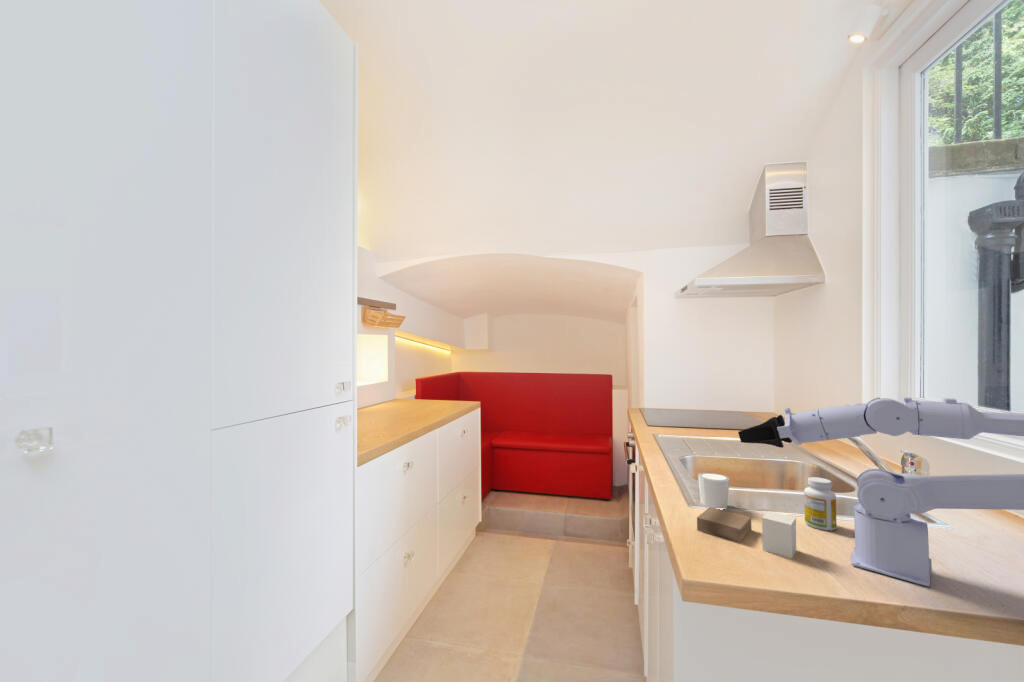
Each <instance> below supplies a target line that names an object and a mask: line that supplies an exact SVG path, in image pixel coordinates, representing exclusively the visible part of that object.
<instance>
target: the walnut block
mask: <svg viewBox="0 0 1024 682" xmlns="http://www.w3.org/2000/svg"><path fill="white" fill-rule="evenodd" d="M696 530H697V531H698V530H699V531H698V532H701V531H702V533H706V534H708V533H709V534H708V535H711V534H712V536H716V537H717V538H718V537H719V538H722V539H726V540H729V541H732V542H735V543H739V544H741V543H742V542H743V541H744V540H745V538H747V536H748V535H749V533H750V532H751V531H752V517H751V516H748V515H743V514H740V513H735V512H732V511H727V510H720V509H716V508H712V507H709V508H706V510H705V511H703V512H702V513H701V514H700V515H698V516H697V517H696Z"/></svg>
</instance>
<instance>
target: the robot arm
mask: <svg viewBox="0 0 1024 682" xmlns="http://www.w3.org/2000/svg"><path fill="white" fill-rule="evenodd" d="M784 412H785V419H784V417H783V415H782V414H780V415H778V416H777V417H776V416H772V417H770V418H768V419H767V420H766V421H764V422H762V423H760V424H758V425H754V426H751V427H749V428H744V429H742V430H740V431H738V432H737V434H738V437H739V440H740V442H741V443H744V444H761V445H770V446H773V447H776V448H780V449H782V448H784V447H785V446H784V444H783V442H785V443H788V444H791V443H794V444H795V445H796V446H797V445H802V444H806V443H807V444H809V443H815V442H823V441H832V440H841V439H849V438H858V437H861V436H865V435H873V434H877V433H881V434H885V435H889V436H892V437H898V436H901V435H904V434H906V433H908V432H909V433H911V435H913V436H926V437H935V438H936V437H938V438H946V439H947V438H948V439H958V440H970V439H972V438H974V437H975V436H978V435H979V434H982V433H984V434H985V433H986V434H994V435H995V434H996V435H1003V436H1004V435H1005V436H1007V435H1008V436H1016V437H1024V413H1021V412H1020V413H1019V412H1018V413H1017V412H1014V413H1013V412H989V411H988V412H987V411H979V410H977V409H976V408H974V407H973V406H971V404H969V403H966V402H958V401H957V399H956V398H951V397H950V398H948V397H947V398H945V397H944V398H943V401H932V400H930V401H929V400H912V397H906V396H905V397H902V402H900V401H898V400H896V399H894V398H893V399H891V398H887V397H885V398H881V397H876V398H873V399H871V400H869V401H868V402H867V403H866V402H865V403H861V402H860V403H854V404H852V405H850V404H845V405H843V404H842V405H838V406H837V405H836V406H831V407H830V406H829V407H825V408H818V409H813V410H807V411H805V410H804V411H799V412H793V413H792V411H791V408H790V407H786V408H785V407H784ZM856 486H857V492H856V493H857V500H858V502H857V503H855V504H854V505H853V509H854V510H853V511H854V547H853V551H852V554H851V555H852V556H851V558H850V565H852V566H854V567H858V568H861V569H863V570H869V571H873V572H876V573H879V574H881V575H886V576H889V577H893V578H897V579H900V580H904V581H906V582H907V581H908V582H910V583H914V584H918V585H922V586H925V587H930V585H931V582H930V571H932V570H933V569H932V568H933V566H932V563H933V562H932V558H930V551H929V550H930V547H929V544H930V543H929V542H930V541H929V529H928V527H929V526H928V523H927V522H924V521H921V520H917V519H914V518H912V517H911V514H918V515H919V514H925V513H928V512H930V511H932V510H938V509H941V510H943V509H945V510H950V509H951V510H1005V511H1006V510H1010V511H1011V510H1012V511H1013V510H1014V511H1015V510H1016V511H1017V510H1018V511H1022V510H1024V473H1008V474H1007V473H1004V474H1003V473H1002V474H1000V473H999V474H962V475H961V474H960V475H959V474H958V475H957V474H956V475H951V474H950V475H921V474H920V475H919V474H913V473H907V472H905V473H896V472H891V471H888V470H886V469H882V468H870V469H869V468H868V469H866V470H864V471H862V472H861V473H860V474H859V475H858V477H857V479H856Z"/></svg>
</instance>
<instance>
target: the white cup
mask: <svg viewBox="0 0 1024 682" xmlns="http://www.w3.org/2000/svg"><path fill="white" fill-rule="evenodd" d="M697 479H698V486H699V487H698V488H699V490H698V491H699V497H700V498H699V499H700V504H701V503H702V504H703V505H705V506H708V507H712V508H728V500H729V492H730V491H729V489H730V477H729V476H727V475H724V474H720V473H715V472H714V473H713V472H700V473H698V475H697Z"/></svg>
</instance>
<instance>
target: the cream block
mask: <svg viewBox="0 0 1024 682" xmlns="http://www.w3.org/2000/svg"><path fill="white" fill-rule="evenodd" d="M796 523H797V518H796V517H794V516H790V515H787V514H782V513H777V512H773V511H769V510H767V511H766V512H765V514H764V515H763V516H762V518H761V524H762V525H761V529H762V537H761V539H762V543H761V544H762V551H764V552H767V553H769V554H773V555H777V556H781V557H783V558H787V559H789V560H793V557H794V555H795V553H796V551H797V524H796Z"/></svg>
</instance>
